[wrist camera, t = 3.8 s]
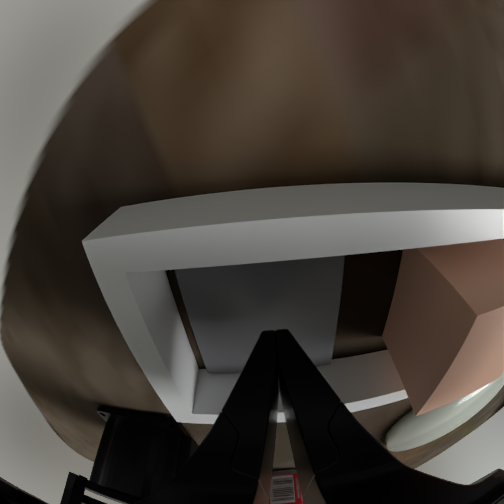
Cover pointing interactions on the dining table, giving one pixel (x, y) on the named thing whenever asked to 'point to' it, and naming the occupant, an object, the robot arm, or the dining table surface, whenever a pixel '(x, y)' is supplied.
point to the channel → (266, 277)
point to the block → (447, 321)
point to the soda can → (285, 488)
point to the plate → (439, 419)
